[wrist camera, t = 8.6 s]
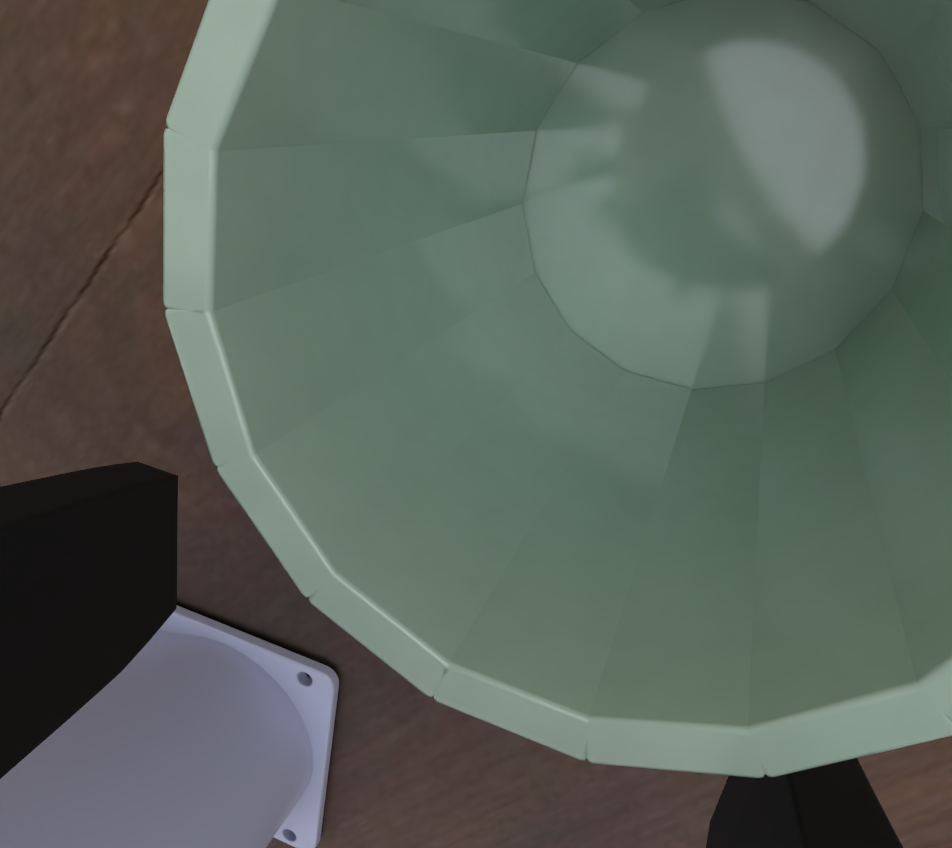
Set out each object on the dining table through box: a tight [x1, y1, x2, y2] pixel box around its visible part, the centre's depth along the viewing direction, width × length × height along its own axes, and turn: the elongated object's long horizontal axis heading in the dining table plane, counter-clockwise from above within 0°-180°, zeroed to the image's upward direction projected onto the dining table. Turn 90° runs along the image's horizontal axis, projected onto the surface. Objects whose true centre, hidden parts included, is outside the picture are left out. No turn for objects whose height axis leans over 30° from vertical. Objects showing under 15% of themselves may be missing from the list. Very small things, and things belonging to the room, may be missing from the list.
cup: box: [163, 0, 952, 778], centre depth 8 cm, size 6×6×8 cm
